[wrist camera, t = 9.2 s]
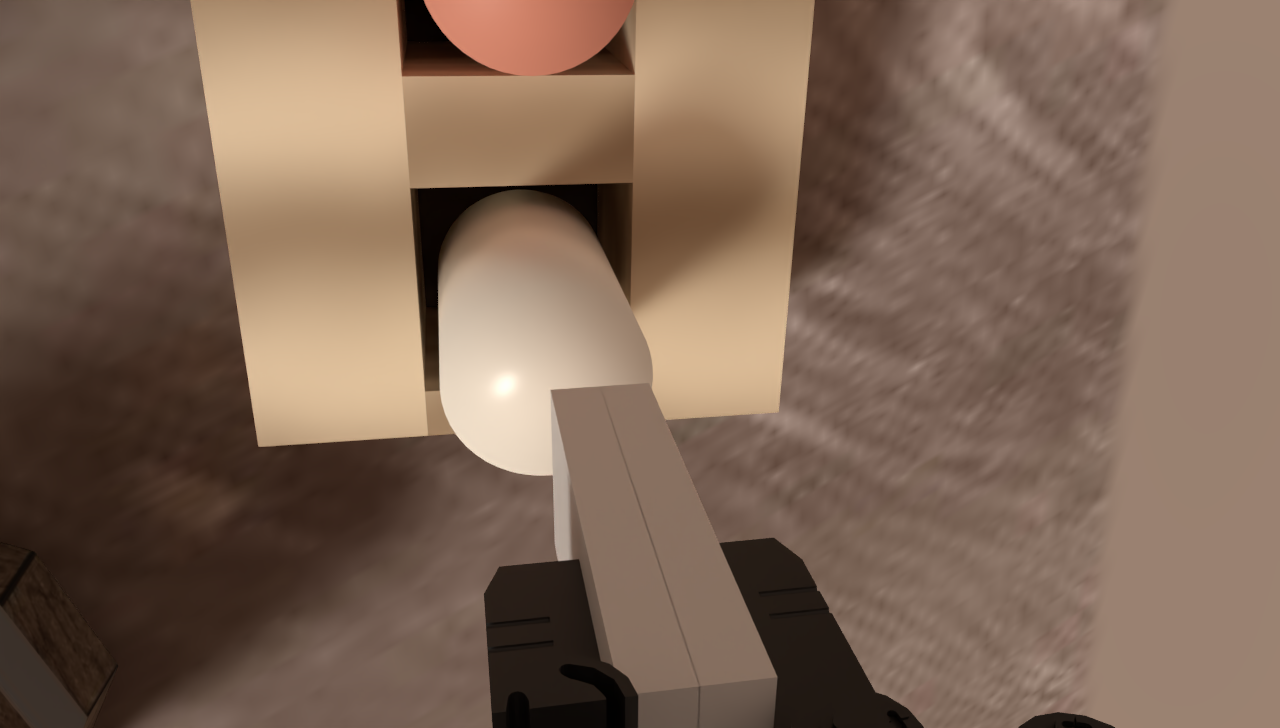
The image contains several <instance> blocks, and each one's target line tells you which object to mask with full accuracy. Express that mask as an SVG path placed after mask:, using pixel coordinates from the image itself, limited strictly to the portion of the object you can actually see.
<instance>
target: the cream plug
mask: <svg viewBox="0 0 1280 728" xmlns="http://www.w3.org/2000/svg"><path fill="white" fill-rule="evenodd" d="M438 314H439V375H440V395H441V402H442V405H443V409H444V412H445V415H446V417H447V419H448V422H449V424H450V426H451V427H452V429H453V430H454V432H455V433H456V435H457V436H458V438H459V439H460V440H461V441H462V442H463V443H464V444H465V446H466V447H468V448H469V449H470V450H471V451H472V452H473V453H475V454H476V455H477V456H479V457H480V458H482V459H483V460H485V461H486V462H488V463H490V464H493V465H495V466H497V467H499V468H502V469H505V470H508V471H511V472H515V473H520V474H526V475H553V461H552V428H551V394H550V390H554V389H569V388H583V387H598V386H613V385H627V384H642V383H649V384H650V386H651V389H652V382H653V364H652V359H651V354H650V350H649V347H648V344H647V341H646V339H645V337H644V335H643V333H642V331H641V328H640V326H639V324H638V322H637V320H636V318H635V316H634V314H633V312H632V309H631V307H630V305H629V303H628V301H627V299H626V297H625V295H624V293H623V291H622V288H621V286H620V284H619V282H618V280H617V278H616V276H615V274H614V272H613V269H612V267H611V265H610V263H609V261H608V259H607V257H606V255H605V253H604V250H603V248H602V246H601V244H600V242H599V240H598V238H597V236H596V234H595V232H594V230H593V228H592V227H591V225H590V224H589V222H588V221H587V220H586V218H585V217H584V216H583V215H582V214H581V213H580V212H579V211H578V210H577V209H575V208H574V207H573V206H572V205H570V204H569V203H567V202H565V201H564V200H562V199H560V198H558V197H556V196H553V195H551V194H547V193H544V192H540V191H534V190H520V189H519V190H508V191H504V192H499V193H496V194H493V195H490V196H487V197H485V198H483V199H481V200H479V201H477V202H476V203H474V204H473V205H472V206H470V207H469V208H467V209H466V210H465V211H464V212H463V213H462V214H461V215H460V216H459V217H458V218H457V219H456V220H455V222H454V223H453V224H452V226H451V227H450V229H449V230H448V232H447V234H446V236H445V238H444V240H443V243H442V246H441V249H440V253H439V259H438Z"/></svg>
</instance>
